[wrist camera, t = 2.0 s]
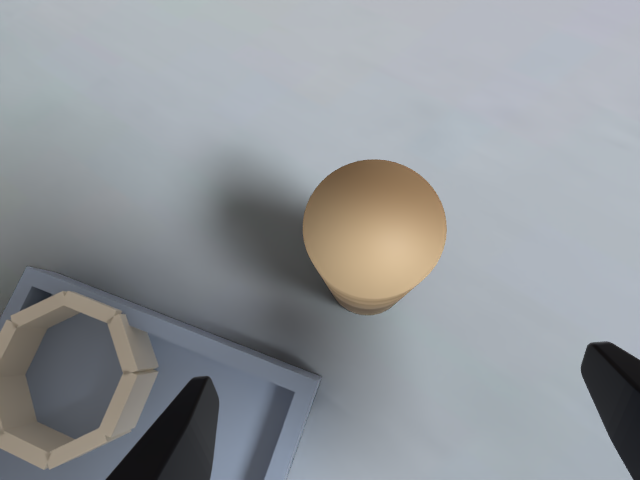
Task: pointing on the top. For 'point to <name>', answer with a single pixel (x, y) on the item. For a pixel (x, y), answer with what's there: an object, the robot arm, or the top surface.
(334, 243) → the peg
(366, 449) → the top surface
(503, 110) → the top surface
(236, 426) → the tray
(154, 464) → the robot arm
